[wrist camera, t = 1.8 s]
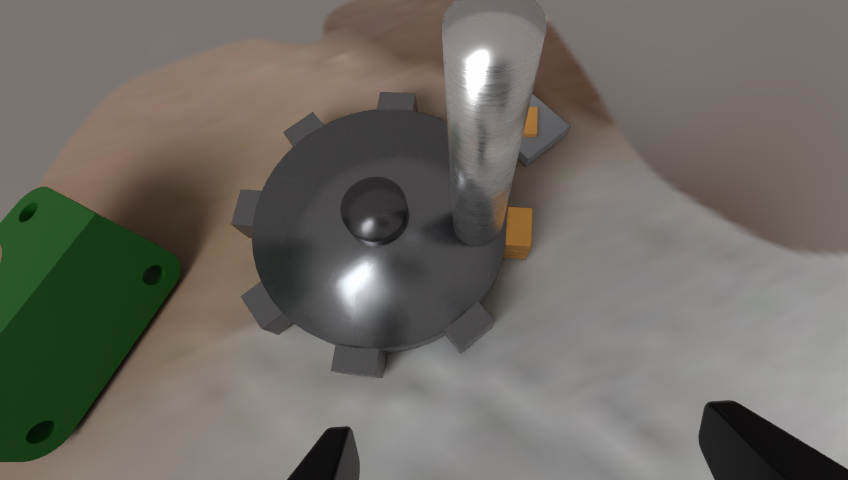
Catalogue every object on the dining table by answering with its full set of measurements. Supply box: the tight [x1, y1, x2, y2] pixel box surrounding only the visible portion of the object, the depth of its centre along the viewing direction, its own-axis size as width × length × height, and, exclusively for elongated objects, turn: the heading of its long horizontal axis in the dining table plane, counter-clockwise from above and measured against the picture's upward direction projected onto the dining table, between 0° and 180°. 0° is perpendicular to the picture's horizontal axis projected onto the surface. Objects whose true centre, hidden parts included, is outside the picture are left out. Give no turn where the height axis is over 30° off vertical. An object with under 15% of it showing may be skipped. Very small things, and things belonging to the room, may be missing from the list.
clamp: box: [0, 187, 181, 462], centre depth 21 cm, size 12×6×9 cm, turn 147°
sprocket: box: [231, 0, 547, 378], centre depth 17 cm, size 15×15×14 cm
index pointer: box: [518, 94, 570, 166], centre depth 25 cm, size 4×3×1 cm
